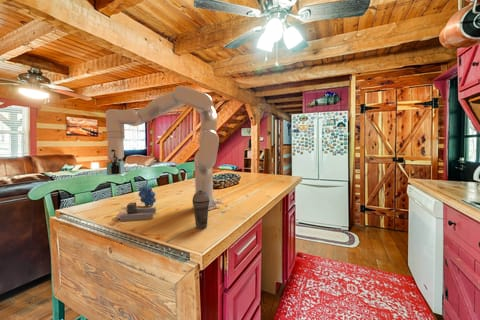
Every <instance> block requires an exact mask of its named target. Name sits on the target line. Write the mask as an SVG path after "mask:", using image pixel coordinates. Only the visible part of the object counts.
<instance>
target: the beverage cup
mask: <svg viewBox="0 0 480 320" xmlns="http://www.w3.org/2000/svg"><path fill="white" fill-rule="evenodd" d="M203 187H204V180H203V185H202V191H198V192H196V193H194V194H193V197H192V207H193V206H194V209H193V211H194V221H195V228H196V229H198V230H205V229H207V227H208V217H209V210H208V206H209V201H210V199H209V196H208V194H207V193H206V192H205V191H203Z"/></svg>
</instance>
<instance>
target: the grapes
mask: <svg viewBox="0 0 480 320" xmlns="http://www.w3.org/2000/svg"><path fill="white" fill-rule="evenodd" d="M138 197H140V203H141V202H142V204H144V206H145V207H153V206H154V203H156V201H157V199H156V193H155V192H154V191H153V187H151V186H148V185H146V184H143V185H142V186H140V187H139V192H138Z"/></svg>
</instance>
